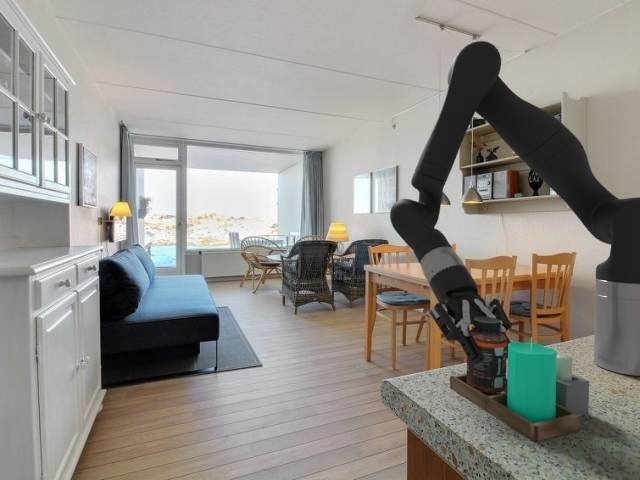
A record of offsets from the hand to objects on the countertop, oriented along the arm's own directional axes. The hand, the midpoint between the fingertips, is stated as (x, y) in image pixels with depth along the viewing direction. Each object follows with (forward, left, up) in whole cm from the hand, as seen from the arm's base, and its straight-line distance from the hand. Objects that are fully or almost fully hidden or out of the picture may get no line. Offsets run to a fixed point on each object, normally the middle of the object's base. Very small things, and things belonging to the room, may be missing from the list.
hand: (495, 358), depth 56 cm
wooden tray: (0, +2, -7) cm, 7 cm away
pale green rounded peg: (-7, +6, -4) cm, 10 cm away
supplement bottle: (0, -2, -5) cm, 6 cm away
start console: (-7, +6, -7) cm, 11 cm away
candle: (0, +6, -7) cm, 9 cm away
